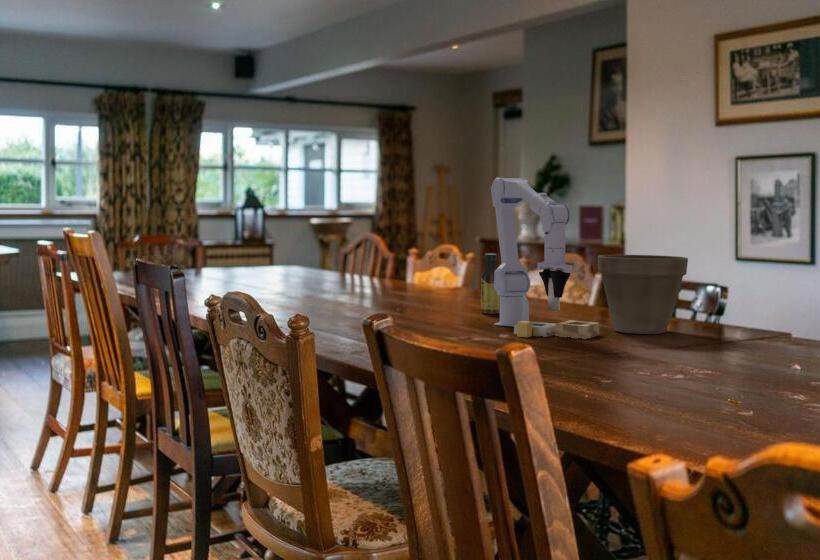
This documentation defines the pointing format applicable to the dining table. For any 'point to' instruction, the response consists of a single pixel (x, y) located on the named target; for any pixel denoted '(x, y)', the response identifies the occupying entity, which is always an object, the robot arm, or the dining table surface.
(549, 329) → the socket block
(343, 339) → the dining table surface
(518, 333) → the yellow block
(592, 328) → the rack
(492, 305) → the sauce bottle
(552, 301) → the drill peg
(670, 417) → the dining table surface
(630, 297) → the plant pot
